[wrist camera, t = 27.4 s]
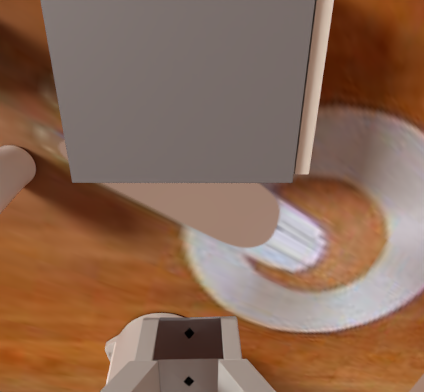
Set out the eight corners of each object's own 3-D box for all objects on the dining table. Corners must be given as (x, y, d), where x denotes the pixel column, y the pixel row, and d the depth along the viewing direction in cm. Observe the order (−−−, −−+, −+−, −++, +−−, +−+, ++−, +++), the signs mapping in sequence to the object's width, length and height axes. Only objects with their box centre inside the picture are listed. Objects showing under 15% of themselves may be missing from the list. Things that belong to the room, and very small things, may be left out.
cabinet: (261, 134, 42) (292, 182, 28) (116, 133, 41) (72, 182, 27) (274, -38, 35) (326, -93, 20) (97, -42, 34) (22, -102, 20)
